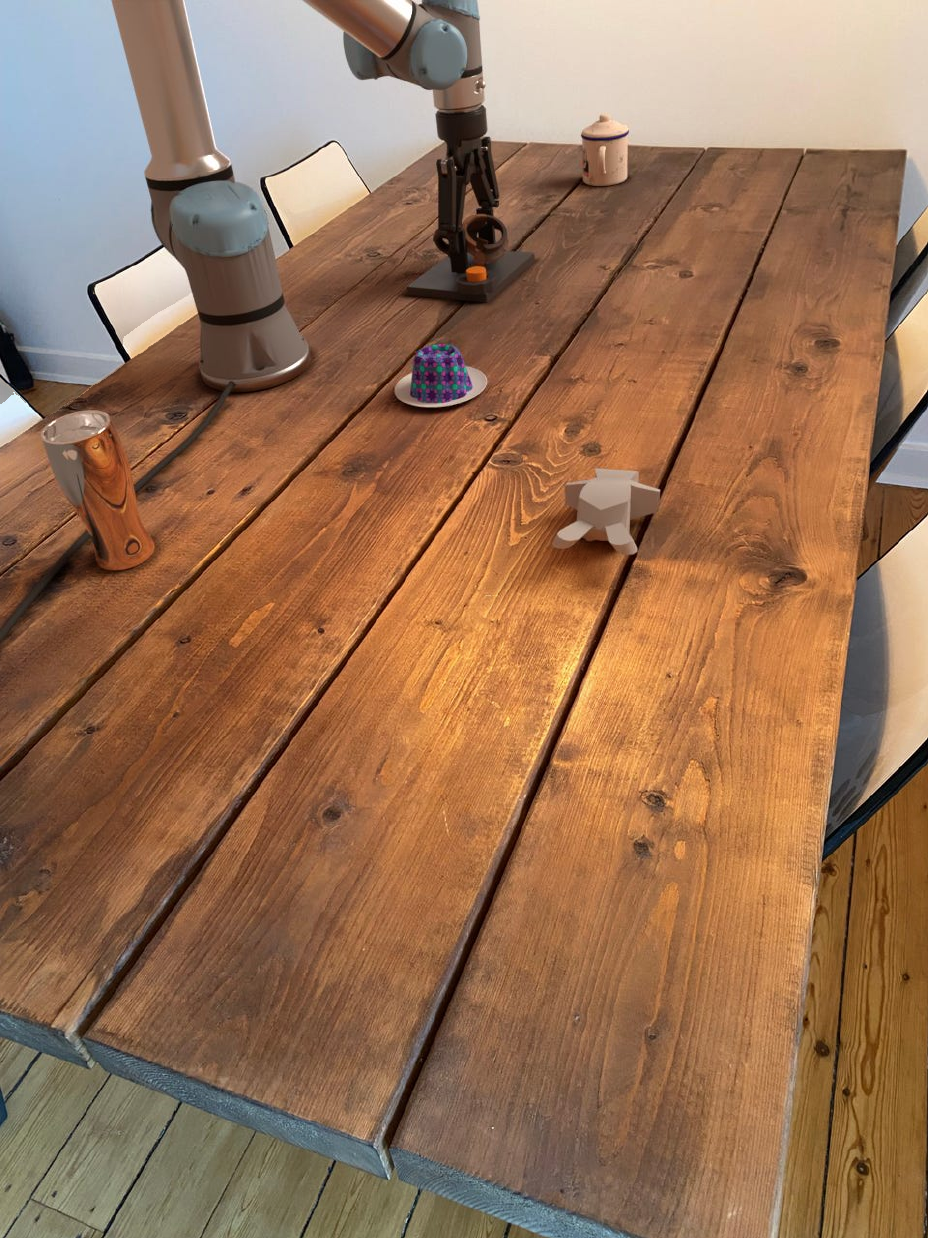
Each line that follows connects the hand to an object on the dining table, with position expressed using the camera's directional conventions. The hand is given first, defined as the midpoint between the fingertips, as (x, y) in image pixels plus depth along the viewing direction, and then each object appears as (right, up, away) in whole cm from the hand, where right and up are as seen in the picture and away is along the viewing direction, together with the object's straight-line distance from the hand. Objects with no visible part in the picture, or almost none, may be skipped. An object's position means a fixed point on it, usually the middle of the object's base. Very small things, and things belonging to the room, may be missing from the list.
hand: (474, 260), depth 153 cm
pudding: (-5, -29, -31) cm, 43 cm away
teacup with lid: (+26, +27, +32) cm, 49 cm away
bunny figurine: (+13, -49, -59) cm, 78 cm away
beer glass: (-37, -51, -54) cm, 83 cm away
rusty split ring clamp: (0, -1, 0) cm, 1 cm away
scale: (0, -3, -1) cm, 4 cm away
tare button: (0, -6, -9) cm, 11 cm away
